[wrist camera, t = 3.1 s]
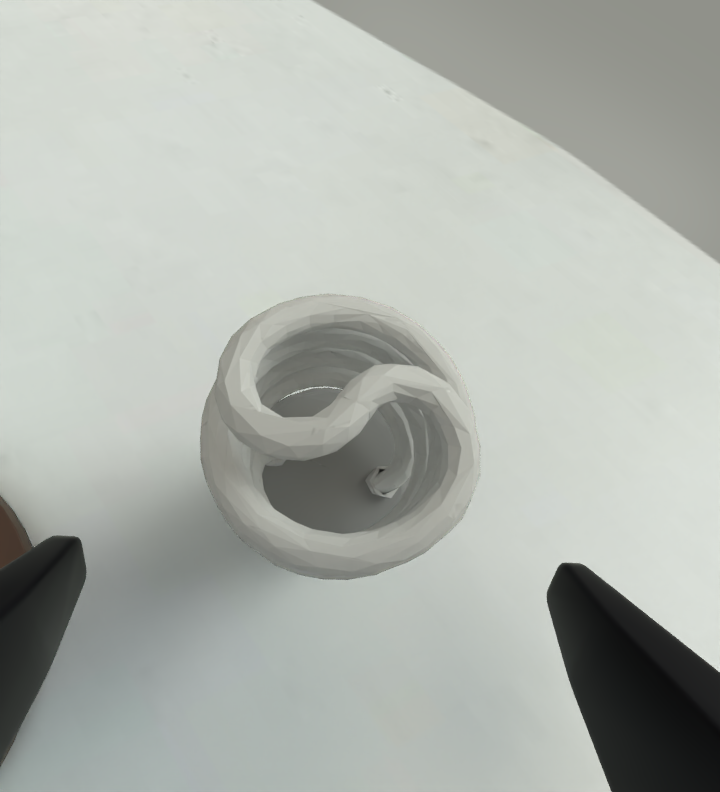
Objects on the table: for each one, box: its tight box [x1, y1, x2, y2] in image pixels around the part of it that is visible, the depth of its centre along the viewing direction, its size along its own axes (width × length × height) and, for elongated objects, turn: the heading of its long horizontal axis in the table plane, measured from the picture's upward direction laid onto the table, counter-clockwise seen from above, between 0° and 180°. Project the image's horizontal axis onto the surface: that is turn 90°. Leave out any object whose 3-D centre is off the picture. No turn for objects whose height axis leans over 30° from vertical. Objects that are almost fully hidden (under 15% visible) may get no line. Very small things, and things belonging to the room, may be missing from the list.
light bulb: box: [200, 294, 480, 580], centre depth 13 cm, size 6×6×12 cm
